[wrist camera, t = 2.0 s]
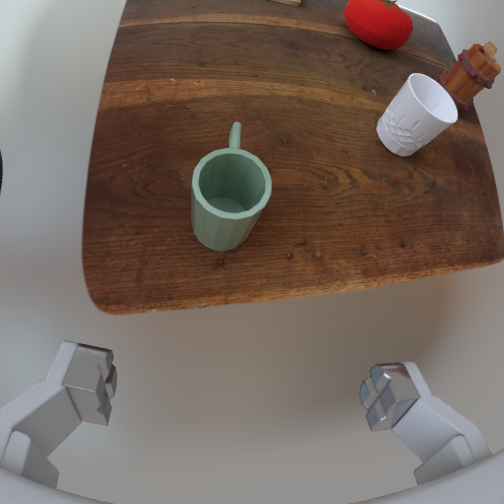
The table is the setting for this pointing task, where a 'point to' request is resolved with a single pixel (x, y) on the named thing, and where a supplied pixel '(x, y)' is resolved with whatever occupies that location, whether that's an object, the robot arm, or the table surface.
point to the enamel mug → (228, 194)
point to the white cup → (416, 115)
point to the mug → (470, 74)
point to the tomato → (378, 23)
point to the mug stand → (289, 2)
